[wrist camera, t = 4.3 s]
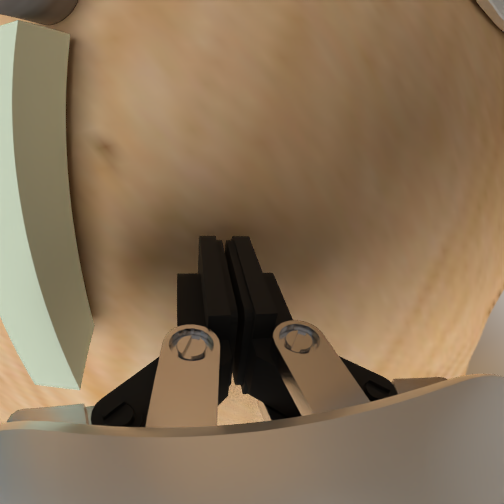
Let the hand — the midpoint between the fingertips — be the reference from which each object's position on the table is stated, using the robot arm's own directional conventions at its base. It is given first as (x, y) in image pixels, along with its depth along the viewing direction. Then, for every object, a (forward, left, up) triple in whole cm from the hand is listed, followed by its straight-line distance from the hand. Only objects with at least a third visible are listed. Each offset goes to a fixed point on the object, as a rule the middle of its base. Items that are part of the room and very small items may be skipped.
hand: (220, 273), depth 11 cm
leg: (+6, -2, -1) cm, 7 cm away
